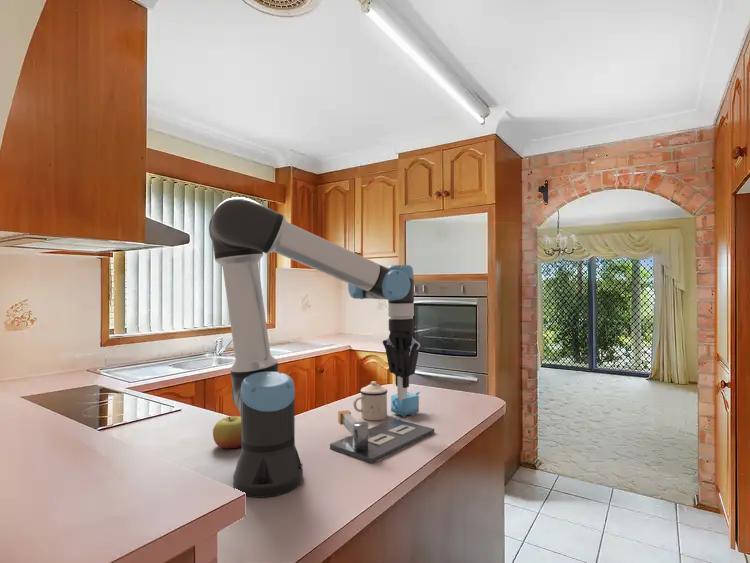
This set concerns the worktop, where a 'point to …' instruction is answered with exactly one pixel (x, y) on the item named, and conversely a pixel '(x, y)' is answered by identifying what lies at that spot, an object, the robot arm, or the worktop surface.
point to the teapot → (405, 404)
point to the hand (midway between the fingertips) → (402, 398)
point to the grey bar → (355, 429)
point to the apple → (228, 432)
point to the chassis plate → (384, 440)
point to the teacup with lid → (373, 402)
